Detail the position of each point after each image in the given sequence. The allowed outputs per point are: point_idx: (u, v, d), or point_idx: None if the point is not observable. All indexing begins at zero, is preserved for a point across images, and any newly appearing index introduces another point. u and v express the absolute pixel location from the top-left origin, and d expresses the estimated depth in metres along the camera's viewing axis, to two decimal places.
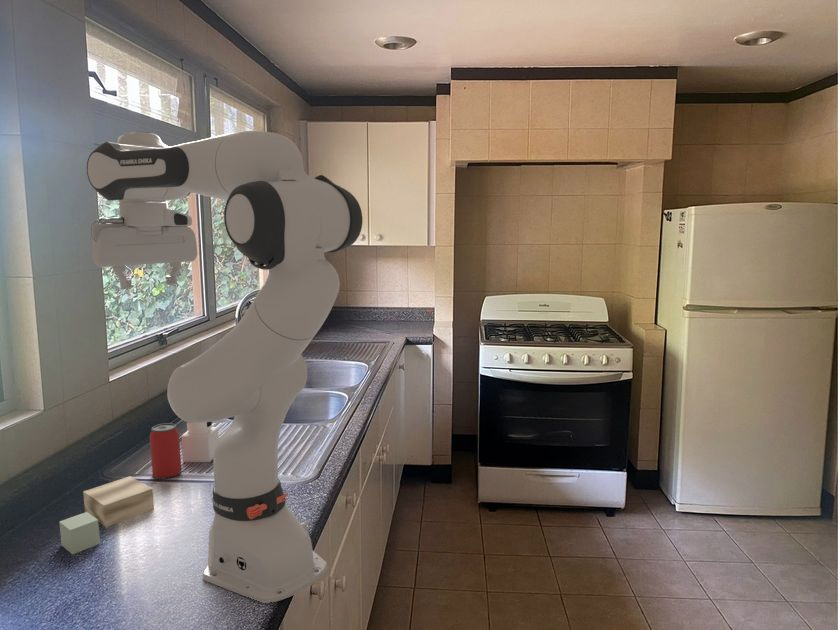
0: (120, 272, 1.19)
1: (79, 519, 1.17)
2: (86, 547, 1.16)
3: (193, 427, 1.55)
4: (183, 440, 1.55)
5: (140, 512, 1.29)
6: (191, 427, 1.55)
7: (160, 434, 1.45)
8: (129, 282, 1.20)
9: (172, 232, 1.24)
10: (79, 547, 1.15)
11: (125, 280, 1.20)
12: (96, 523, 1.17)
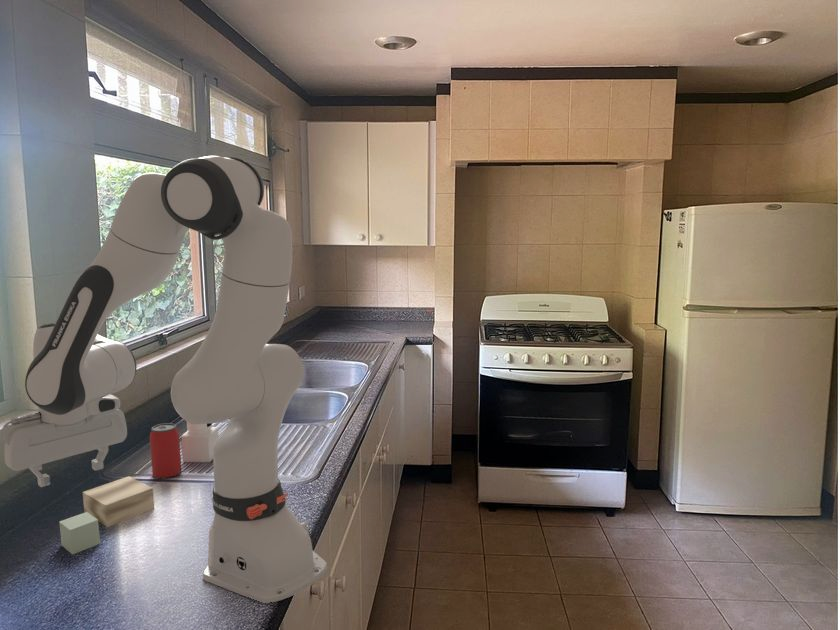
0: (36, 471, 1.10)
1: (79, 519, 1.17)
2: (86, 547, 1.16)
3: (193, 427, 1.55)
4: (183, 440, 1.55)
5: (141, 512, 1.29)
6: (191, 427, 1.55)
7: (160, 434, 1.45)
8: (47, 479, 1.11)
9: (98, 418, 1.15)
10: (79, 547, 1.15)
11: (42, 478, 1.11)
12: (96, 523, 1.17)
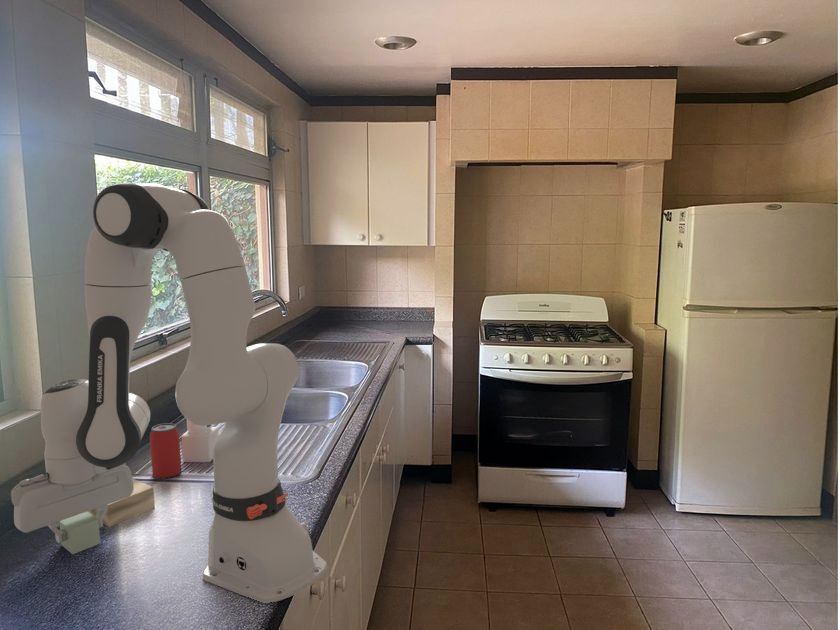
0: (54, 528, 1.13)
1: (79, 518, 1.17)
2: (86, 546, 1.16)
3: (193, 427, 1.55)
4: (183, 440, 1.55)
5: (142, 511, 1.30)
6: (191, 427, 1.55)
7: (160, 434, 1.45)
8: (64, 535, 1.14)
9: (104, 476, 1.17)
10: (79, 546, 1.15)
11: (60, 534, 1.14)
12: (96, 522, 1.17)
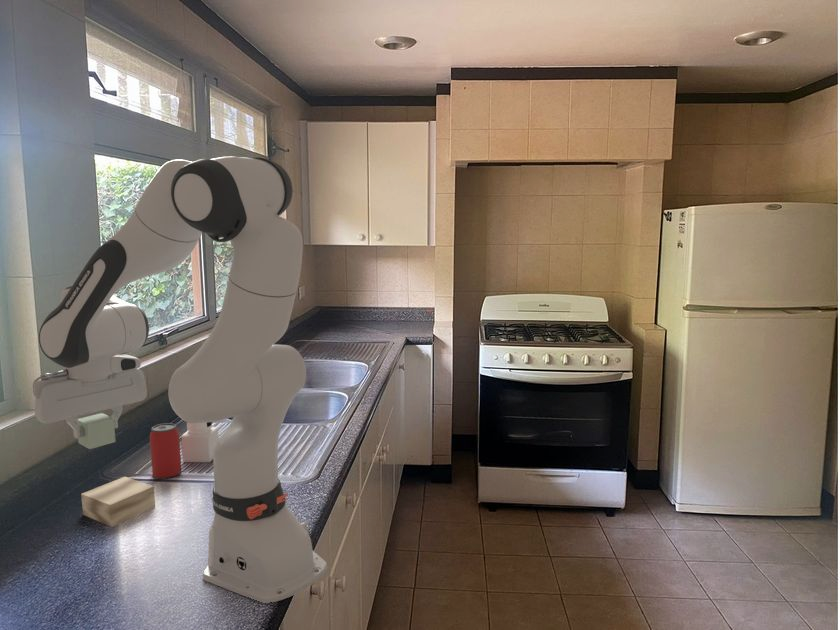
0: (72, 423, 1.18)
1: (95, 417, 1.23)
2: (102, 443, 1.21)
3: (193, 427, 1.55)
4: (183, 440, 1.55)
5: (143, 510, 1.30)
6: (191, 427, 1.55)
7: (160, 434, 1.45)
8: (82, 431, 1.20)
9: (120, 377, 1.23)
10: (96, 442, 1.20)
11: (78, 430, 1.19)
12: (111, 421, 1.22)
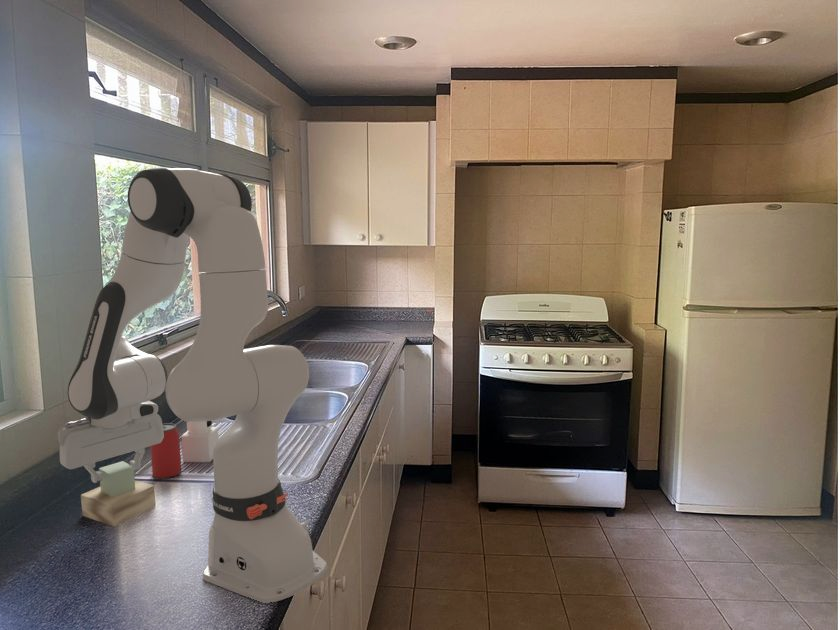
0: (90, 469, 1.24)
1: (117, 466, 1.30)
2: (123, 491, 1.29)
3: (193, 427, 1.55)
4: (183, 440, 1.55)
5: (144, 509, 1.30)
6: (191, 427, 1.55)
7: None
8: (99, 476, 1.26)
9: (139, 422, 1.30)
10: (117, 490, 1.28)
11: (95, 475, 1.25)
12: (132, 470, 1.30)
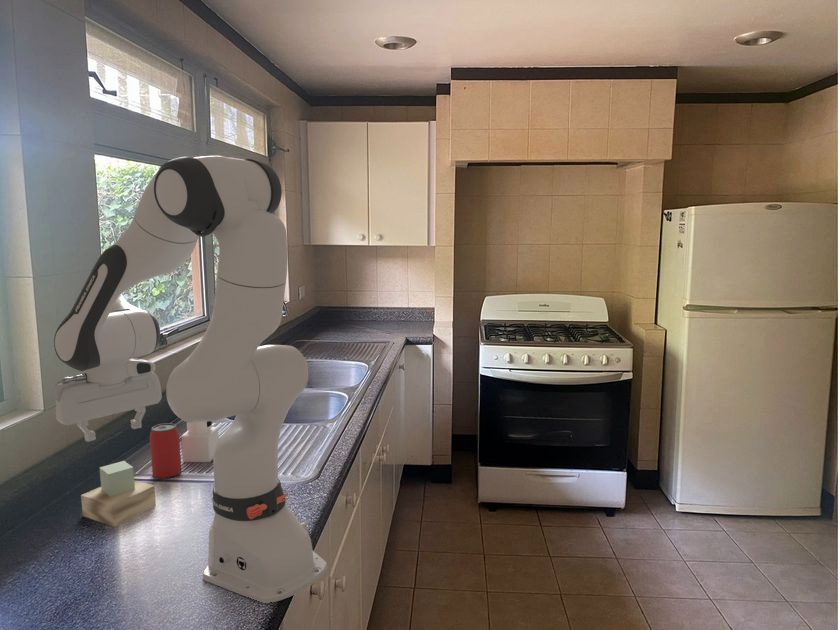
0: (83, 427, 1.22)
1: (117, 466, 1.30)
2: (122, 491, 1.29)
3: (193, 427, 1.55)
4: (183, 440, 1.55)
5: (144, 510, 1.30)
6: (191, 427, 1.55)
7: (160, 434, 1.45)
8: (93, 434, 1.24)
9: (136, 380, 1.28)
10: (116, 490, 1.28)
11: (89, 433, 1.23)
12: (131, 470, 1.29)
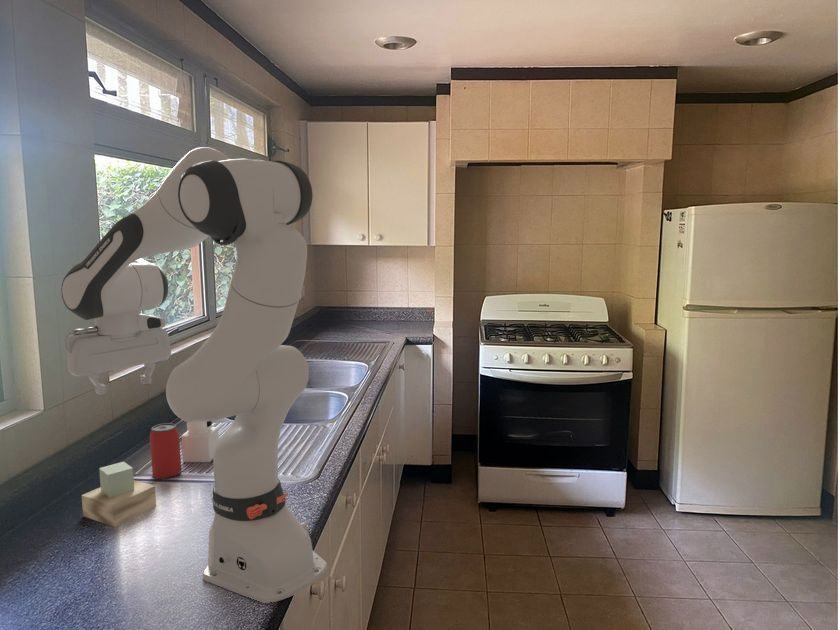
0: (95, 379, 1.23)
1: (116, 467, 1.30)
2: (122, 492, 1.28)
3: (193, 427, 1.55)
4: (183, 440, 1.55)
5: (144, 510, 1.30)
6: (191, 427, 1.55)
7: (160, 434, 1.45)
8: (104, 387, 1.24)
9: (146, 335, 1.29)
10: (115, 491, 1.27)
11: (100, 386, 1.24)
12: (131, 471, 1.29)
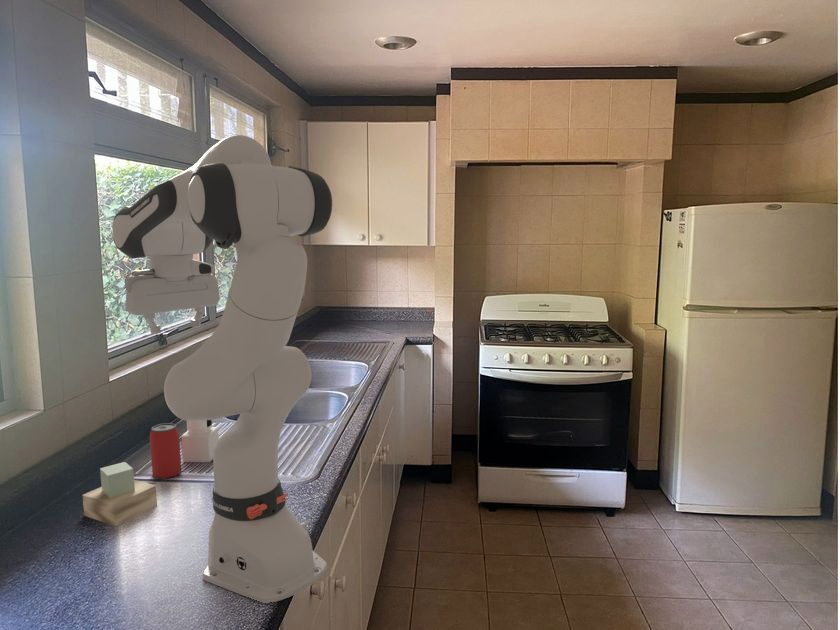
0: (151, 319, 1.30)
1: (117, 467, 1.30)
2: (122, 492, 1.28)
3: (193, 427, 1.55)
4: (183, 440, 1.55)
5: (145, 509, 1.31)
6: (191, 427, 1.55)
7: (160, 434, 1.45)
8: (158, 327, 1.31)
9: (197, 280, 1.36)
10: (116, 492, 1.27)
11: (155, 326, 1.31)
12: (131, 471, 1.29)
